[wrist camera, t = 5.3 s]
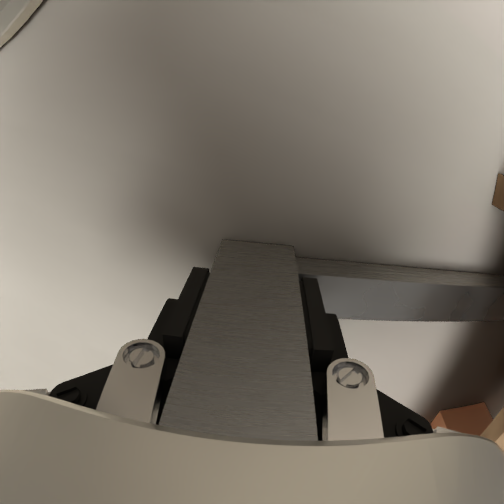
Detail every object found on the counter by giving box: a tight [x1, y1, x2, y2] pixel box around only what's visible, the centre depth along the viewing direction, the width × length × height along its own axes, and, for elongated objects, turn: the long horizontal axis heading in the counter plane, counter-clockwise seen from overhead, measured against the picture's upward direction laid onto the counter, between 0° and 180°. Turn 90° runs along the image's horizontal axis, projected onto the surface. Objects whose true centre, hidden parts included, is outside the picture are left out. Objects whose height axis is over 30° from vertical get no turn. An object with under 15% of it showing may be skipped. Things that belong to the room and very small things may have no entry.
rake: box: [159, 240, 504, 441], centre depth 11 cm, size 10×24×10 cm, turn 86°
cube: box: [430, 402, 493, 436], centre depth 17 cm, size 5×5×5 cm
